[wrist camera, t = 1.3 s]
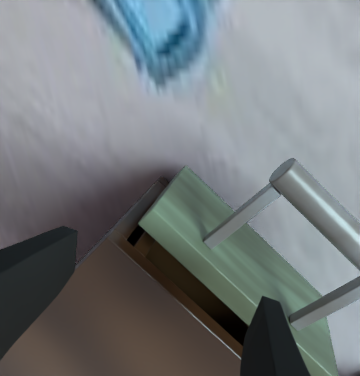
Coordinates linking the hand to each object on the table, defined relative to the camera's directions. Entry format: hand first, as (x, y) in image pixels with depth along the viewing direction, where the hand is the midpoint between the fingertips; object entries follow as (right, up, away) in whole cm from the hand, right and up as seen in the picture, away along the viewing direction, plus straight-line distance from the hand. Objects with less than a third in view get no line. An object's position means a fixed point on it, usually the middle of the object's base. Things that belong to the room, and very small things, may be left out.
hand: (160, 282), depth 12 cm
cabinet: (-1, -5, +14) cm, 15 cm away
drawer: (+3, -2, +11) cm, 11 cm away
